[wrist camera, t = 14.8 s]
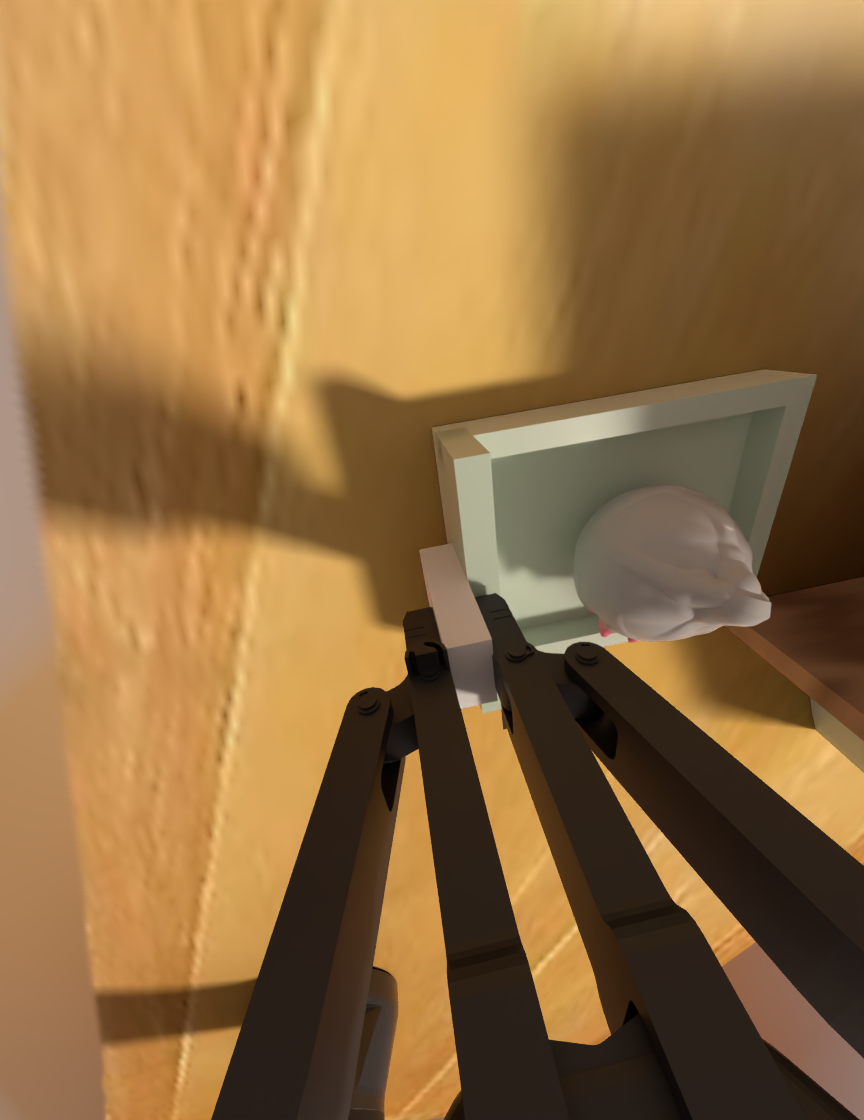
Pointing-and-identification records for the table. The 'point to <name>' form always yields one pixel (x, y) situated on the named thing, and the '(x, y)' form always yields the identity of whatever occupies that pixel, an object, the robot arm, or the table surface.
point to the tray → (607, 482)
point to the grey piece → (838, 735)
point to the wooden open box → (818, 645)
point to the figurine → (666, 567)
